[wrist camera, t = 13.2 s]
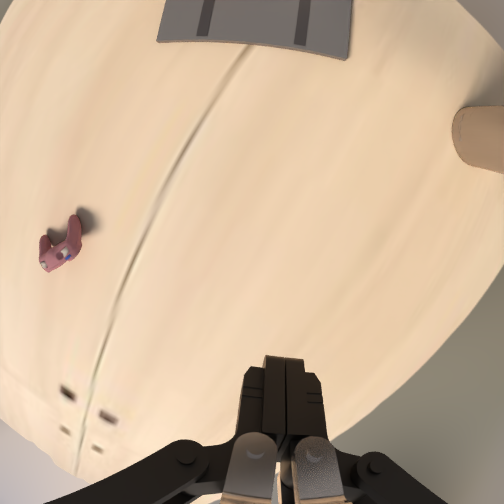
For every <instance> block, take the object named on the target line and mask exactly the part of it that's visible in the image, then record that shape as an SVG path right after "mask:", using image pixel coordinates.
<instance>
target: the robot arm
mask: <svg viewBox="0 0 504 504" xmlns="http://www.w3.org/2000/svg"><path fill="white" fill-rule="evenodd" d="M452 136H453V142H454V146H455V148H456V151H457V153H458V154H459V156H460V158H461V159H462V160H463V161H464V162H465V163H467V164H468V165H471V166H474V167H478V168H482V169H486V170H490V171H494V172H498V173H501V174H504V106H476V107H465V108H462V109H461V110H460V111H458V113H457V114H456V116H455V118H454V120H453V126H452ZM276 462H281V464H280V473H279V474H278V477H277V486H278V501H279V504H448V503H446V502H445V501H443V500H442V499H441V498H439V497H438V496H437V495H435V494H434V493H433V492H431V491H430V490H429V489H427V488H426V487H425V486H424V485H422V484H421V483H419V482H418V481H417V480H416V479H414V478H413V477H412V476H411V475H410V474H408V473H407V472H406V471H405V470H403V469H402V468H401V467H400V466H398V465H397V464H396V463H394V462H393V461H392V460H391V459H390V458H389V457H387V456H386V455H385V454H382V453H380V452H369V453H366V454H364V455H363V456H362V457H360V456H356V455H351V454H348V453H344V452H341V451H339V450H337V449H336V448H334V446H333V445H332V444H331V443H330V441H329V439H328V436H327V429H326V421H325V412H324V404H323V397H322V389H321V383H320V381H319V380H318V378H317V376H316V375H315V373H308V372H305V368H304V360H303V359H296V358H286V357H285V358H284V357H277V356H269V355H265V358H264V362H263V366H262V368H260V367H253V366H251V367H250V368H249V369H248V371H247V372H246V373H245V375H244V379H243V384H242V389H241V395H240V401H239V409H238V416H237V424H236V431H235V435H234V437H233V438H232V439H231V440H229V441H228V442H226V443H223V444H220V445H214V446H204V447H203V446H202V445H201V444H199V443H197V442H195V441H192V440H177V441H174V442H172V443H170V444H169V445H167V446H165V447H164V448H162V449H160V450H159V451H157V452H155V453H153V454H151V455H150V456H148V457H146V458H144V459H142V460H141V461H139V462H137V463H135V464H133V465H131V466H129V467H127V468H125V469H123V470H121V471H119V472H117V473H115V474H113V475H111V476H109V477H107V478H105V479H103V480H101V481H99V482H96V483H94V484H92V485H90V486H87V487H85V488H83V489H80V490H78V491H76V492H73V493H71V494H69V495H66V496H63V497H61V498H58V499H56V500H53V501H50V502H47V503H44V504H190V503H191V502H193V501H194V500H196V499H197V498H199V497H200V496H202V495H207V494H216V493H222V497H221V501H220V504H271V498H272V492H273V484H274V477H275V469H276Z"/></svg>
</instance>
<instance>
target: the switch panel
mask: <svg viewBox="0 0 504 504" xmlns="http://www.w3.org/2000/svg"><path fill="white" fill-rule="evenodd" d="M350 15H351V0H166V3H165V7H164V11H163V15H162V19H161V23H160V27H159V31H158V36H157V40H156V41H157V42H158V43H169V42H222V43H239V44H251V45H261V46H269V47H277V48H284V49H290V50H296V51H302V52H307V53H312V54H317V55H322V56H326V57H331V58H335V59H339V60H343V61H345V60H346V59H347V52H348V41H349V29H350Z"/></svg>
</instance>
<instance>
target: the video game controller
mask: <svg viewBox="0 0 504 504" xmlns="http://www.w3.org/2000/svg"><path fill="white" fill-rule="evenodd" d="M81 247H82V243H81V224H80V220H79V218H78V216H76V215H71V216H70V218H69V221H68V232H67V238H66V240H65V241H63V242H60V243H58V244H57V245H56V246H55V247H51V243H50V240H49V238H48V236H47V235H43V236H42V237H41V238H40V242H39V262H40V264H41V266H42V268H43V269H44V270H45V271H47V272H51V271H52V270H54V269H56V268H58V267H60V266H61V265H62V264H64V263H65V262H66V261H67V260H68V261H71V260H72V259H74V258H75V257H76V256H77V255H78V253H79V252H80V250H81Z"/></svg>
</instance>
